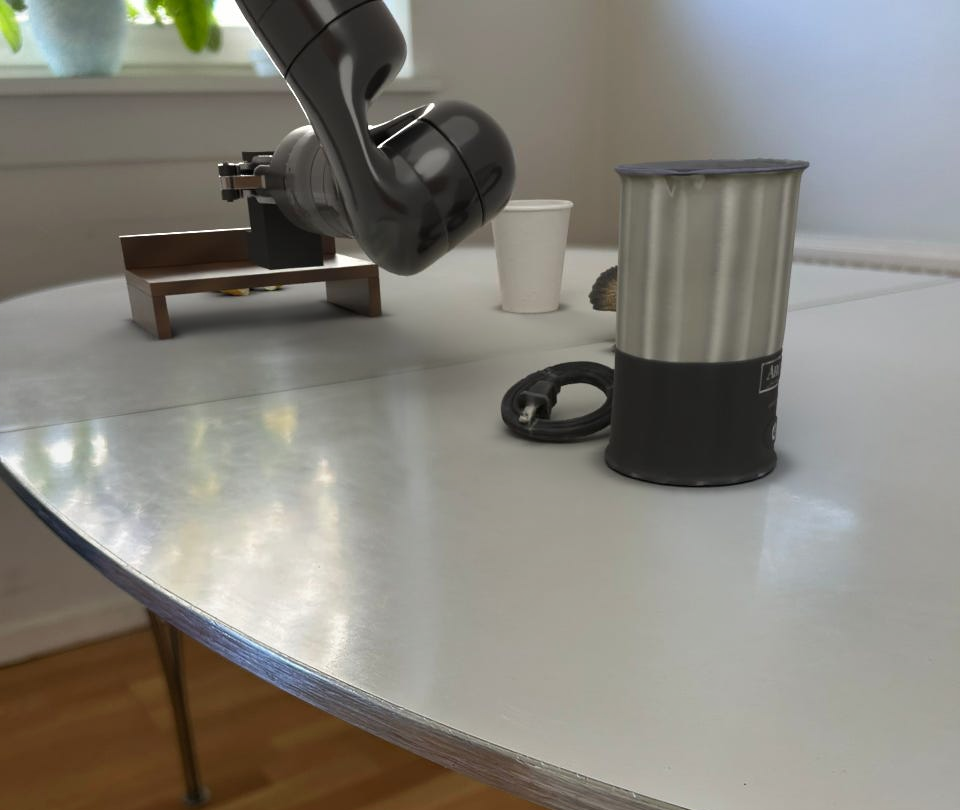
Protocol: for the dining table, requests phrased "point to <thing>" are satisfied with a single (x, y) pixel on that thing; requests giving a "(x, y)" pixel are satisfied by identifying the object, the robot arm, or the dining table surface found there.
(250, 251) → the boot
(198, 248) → the wooden bench
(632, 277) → the milk frother
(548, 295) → the dixie cup
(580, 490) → the dining table surface
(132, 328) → the dining table surface
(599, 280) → the eagle figurine
